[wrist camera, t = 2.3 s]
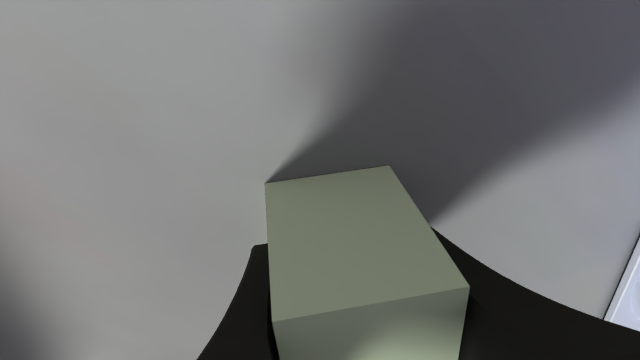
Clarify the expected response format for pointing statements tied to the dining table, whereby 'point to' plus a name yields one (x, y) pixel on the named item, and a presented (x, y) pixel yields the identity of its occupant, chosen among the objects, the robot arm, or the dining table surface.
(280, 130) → the dining table surface
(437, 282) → the green block
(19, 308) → the dining table surface
